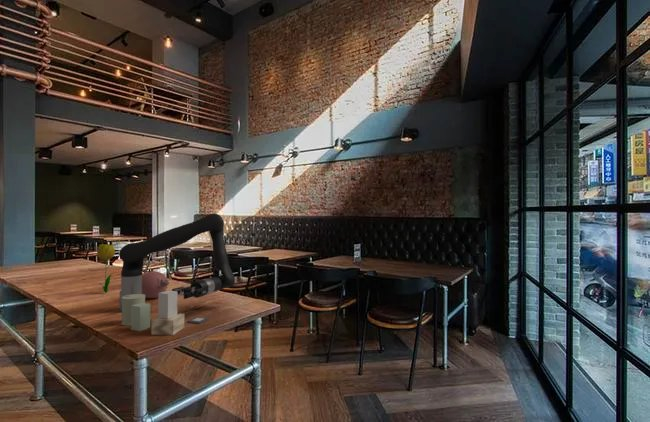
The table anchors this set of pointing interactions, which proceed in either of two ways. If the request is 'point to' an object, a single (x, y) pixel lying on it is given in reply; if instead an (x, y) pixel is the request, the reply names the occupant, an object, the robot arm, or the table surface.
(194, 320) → the card
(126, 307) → the can
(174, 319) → the base block
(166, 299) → the grey block
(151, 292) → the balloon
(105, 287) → the flower
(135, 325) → the sage block
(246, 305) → the table surface
